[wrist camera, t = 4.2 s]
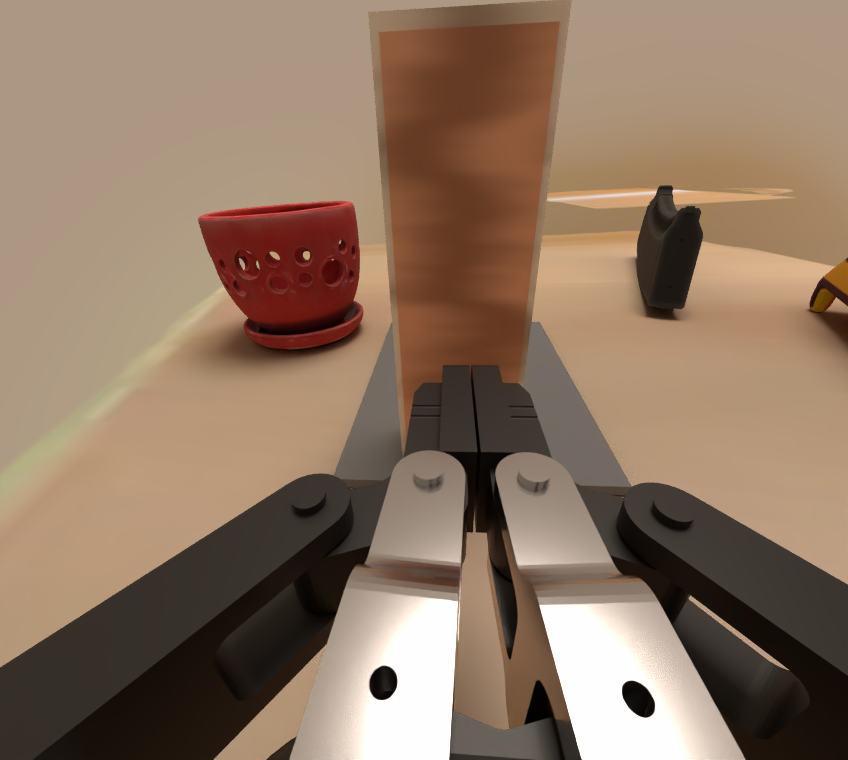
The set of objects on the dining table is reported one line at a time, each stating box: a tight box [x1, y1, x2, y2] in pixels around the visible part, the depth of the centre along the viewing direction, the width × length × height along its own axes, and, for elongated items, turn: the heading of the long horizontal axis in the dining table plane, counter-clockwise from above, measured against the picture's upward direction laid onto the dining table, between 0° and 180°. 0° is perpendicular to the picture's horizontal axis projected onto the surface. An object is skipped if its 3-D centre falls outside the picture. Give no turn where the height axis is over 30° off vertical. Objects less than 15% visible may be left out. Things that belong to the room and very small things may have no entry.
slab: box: [369, 0, 571, 458], centre depth 17 cm, size 6×3×18 cm, turn 86°
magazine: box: [637, 185, 703, 310], centre depth 47 cm, size 17×3×30 cm
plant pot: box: [198, 201, 363, 349], centre depth 35 cm, size 13×13×12 cm
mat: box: [334, 322, 632, 495], centre depth 28 cm, size 15×22×1 cm
